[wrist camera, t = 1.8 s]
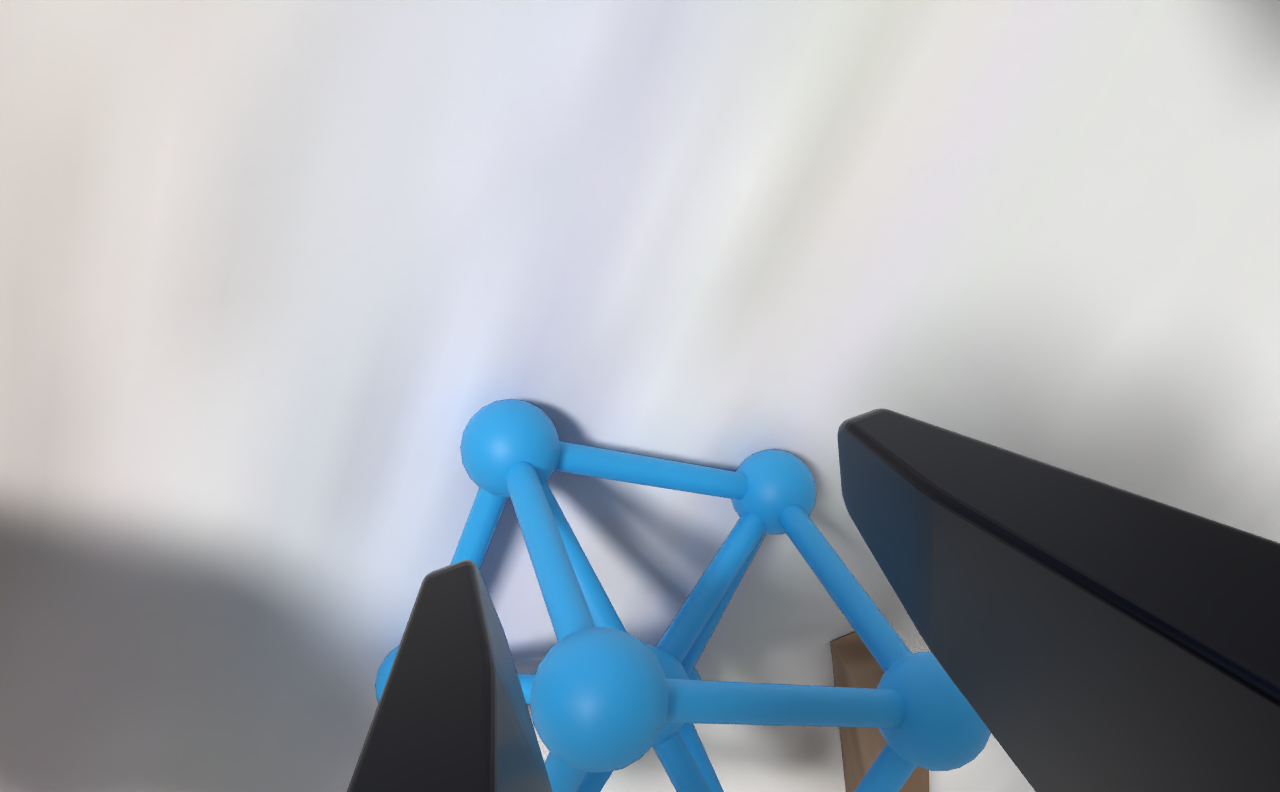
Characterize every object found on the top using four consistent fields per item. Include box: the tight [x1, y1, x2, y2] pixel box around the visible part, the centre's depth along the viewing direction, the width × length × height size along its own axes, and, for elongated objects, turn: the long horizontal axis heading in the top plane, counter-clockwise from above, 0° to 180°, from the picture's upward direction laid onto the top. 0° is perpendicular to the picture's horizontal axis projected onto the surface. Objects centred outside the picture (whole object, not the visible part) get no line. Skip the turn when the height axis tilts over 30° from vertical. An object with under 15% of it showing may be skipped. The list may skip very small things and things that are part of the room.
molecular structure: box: [375, 399, 991, 792], centre depth 22 cm, size 10×10×10 cm
